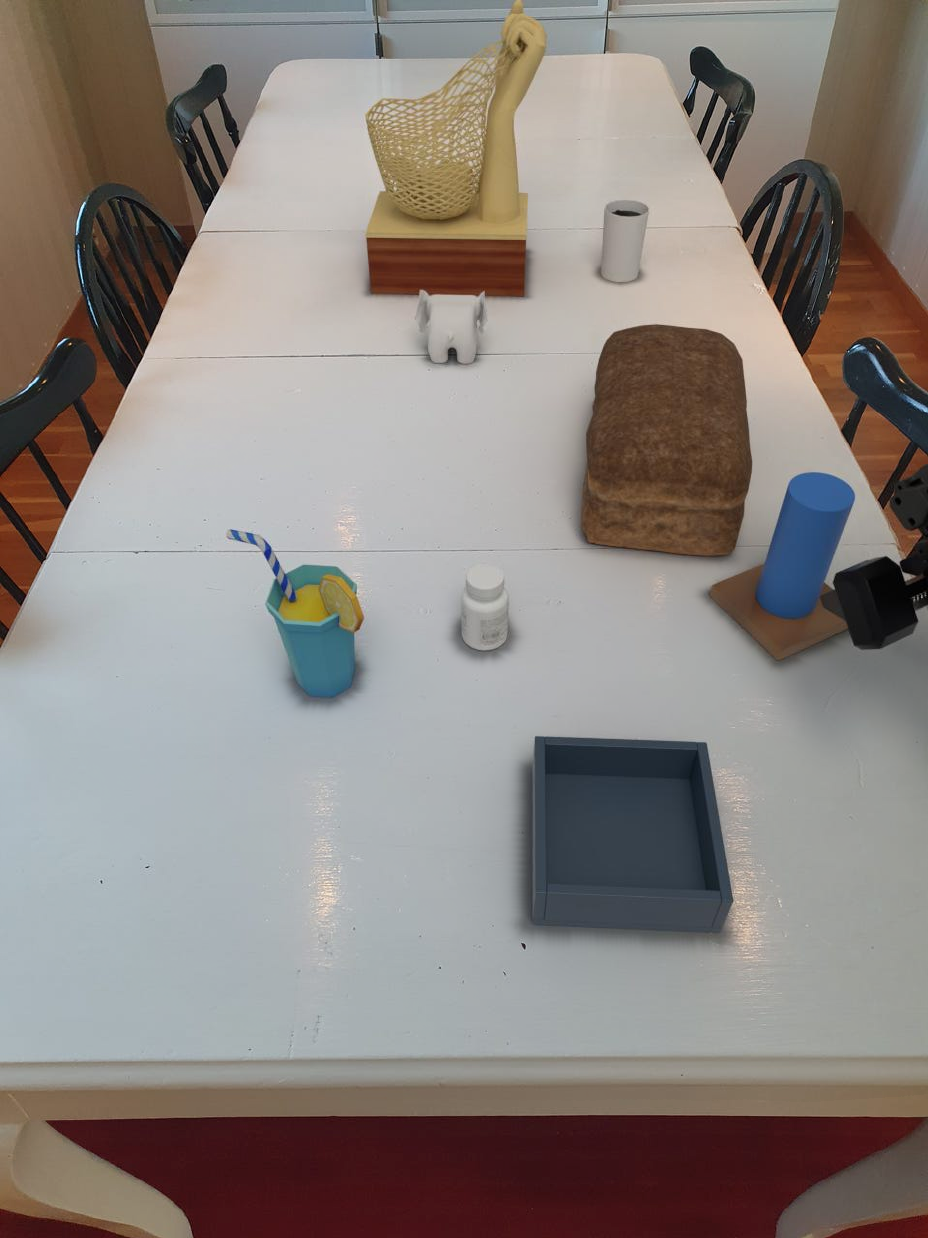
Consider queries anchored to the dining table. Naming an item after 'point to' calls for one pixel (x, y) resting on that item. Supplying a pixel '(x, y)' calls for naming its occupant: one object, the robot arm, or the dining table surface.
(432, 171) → the net sculpture trophy
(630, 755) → the tray
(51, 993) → the dining table surface
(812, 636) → the trivet
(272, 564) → the cup
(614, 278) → the white cylindrical pot
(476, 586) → the pill bottle
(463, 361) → the elephant figurine
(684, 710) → the dining table surface
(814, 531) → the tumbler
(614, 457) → the bread
